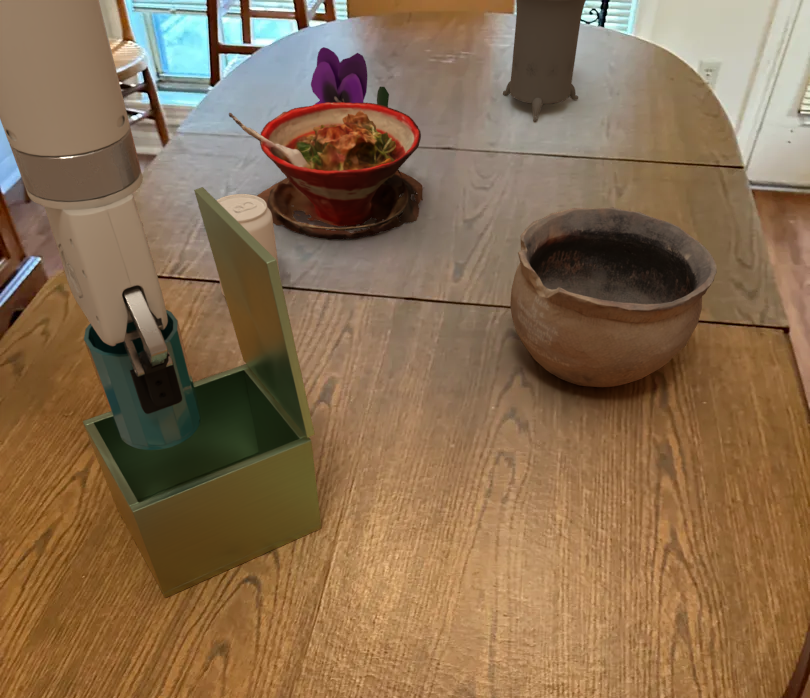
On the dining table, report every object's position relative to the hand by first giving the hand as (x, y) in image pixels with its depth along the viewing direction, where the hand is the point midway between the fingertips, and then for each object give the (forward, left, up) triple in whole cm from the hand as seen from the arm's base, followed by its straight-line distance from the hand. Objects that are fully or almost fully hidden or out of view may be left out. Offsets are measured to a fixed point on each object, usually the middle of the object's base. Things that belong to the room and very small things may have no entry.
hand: (145, 379), depth 65 cm
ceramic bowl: (+53, 0, -19) cm, 56 cm away
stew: (+45, +51, -19) cm, 71 cm away
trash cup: (0, 0, -5) cm, 5 cm away
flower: (+62, +75, -19) cm, 99 cm away
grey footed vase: (+100, +69, -19) cm, 123 cm away
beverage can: (+24, +37, -19) cm, 48 cm away
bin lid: (+10, 0, +2) cm, 10 cm away
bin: (+3, 0, -19) cm, 19 cm away
